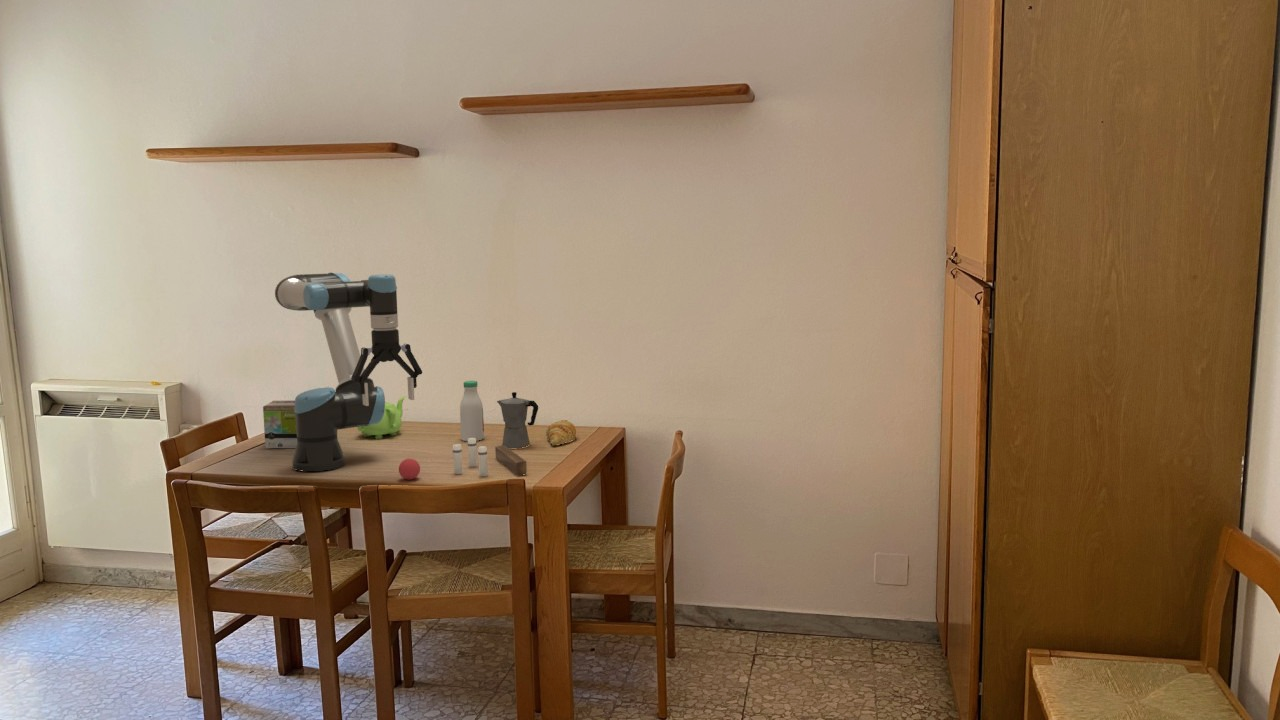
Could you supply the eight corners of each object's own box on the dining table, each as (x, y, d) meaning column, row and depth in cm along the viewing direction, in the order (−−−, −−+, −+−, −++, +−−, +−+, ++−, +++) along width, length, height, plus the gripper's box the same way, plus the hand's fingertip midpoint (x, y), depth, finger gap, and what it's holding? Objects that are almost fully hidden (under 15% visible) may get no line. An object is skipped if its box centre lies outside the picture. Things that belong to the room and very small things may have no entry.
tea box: (264, 449, 306) (261, 405, 304) (275, 442, 316) (272, 399, 314) (311, 448, 307) (308, 404, 305) (320, 441, 317) (317, 399, 315)
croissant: (562, 458, 303) (573, 437, 302) (535, 443, 304) (546, 422, 302) (576, 441, 324) (586, 422, 322) (550, 428, 325) (560, 408, 323)
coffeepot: (491, 447, 305) (489, 393, 302) (506, 441, 313) (504, 388, 310) (531, 451, 298) (530, 396, 296) (546, 445, 307) (544, 391, 304)
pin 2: (480, 477, 269) (479, 448, 268) (477, 475, 271) (476, 446, 270) (489, 476, 270) (487, 447, 269) (486, 473, 272) (485, 445, 271)
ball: (401, 483, 264) (400, 462, 263) (397, 478, 269) (396, 457, 268) (422, 480, 266) (421, 460, 265) (418, 475, 272) (417, 455, 271)
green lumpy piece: (368, 430, 334) (365, 395, 332) (407, 429, 333) (405, 394, 332) (354, 440, 318) (351, 404, 316) (395, 439, 317) (393, 403, 316)
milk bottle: (481, 441, 313) (479, 383, 310) (459, 442, 313) (456, 383, 310) (486, 436, 320) (483, 379, 317) (463, 437, 320) (461, 379, 317)
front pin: (454, 474, 272) (453, 446, 270) (452, 472, 274) (451, 444, 273) (463, 473, 273) (462, 445, 272) (461, 471, 275) (460, 443, 274)
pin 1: (469, 467, 280) (468, 440, 278) (467, 465, 282) (466, 438, 281) (478, 466, 281) (477, 439, 279) (476, 464, 283) (474, 437, 282)
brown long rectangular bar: (516, 476, 269) (516, 462, 269) (495, 459, 289) (495, 446, 289) (526, 474, 271) (526, 461, 270) (505, 458, 290) (504, 445, 290)
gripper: (345, 333, 255) (350, 409, 258) (431, 326, 270) (434, 398, 273) (336, 331, 261) (341, 405, 264) (421, 324, 276) (424, 395, 279)
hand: (389, 402), depth 269 cm, fingers open, 13 cm apart
